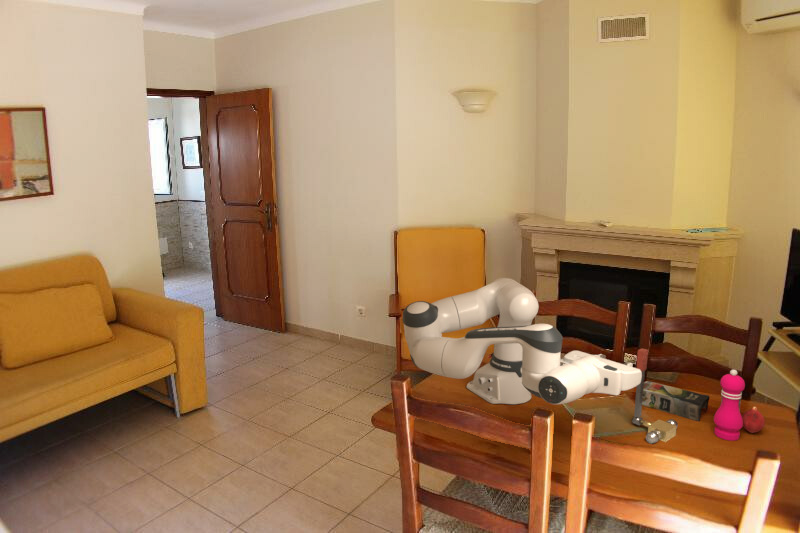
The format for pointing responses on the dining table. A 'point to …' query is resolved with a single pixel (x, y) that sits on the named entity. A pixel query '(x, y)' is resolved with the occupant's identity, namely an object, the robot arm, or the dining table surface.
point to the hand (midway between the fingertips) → (616, 361)
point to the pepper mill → (729, 407)
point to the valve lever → (640, 385)
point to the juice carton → (674, 400)
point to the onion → (753, 420)
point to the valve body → (660, 430)
